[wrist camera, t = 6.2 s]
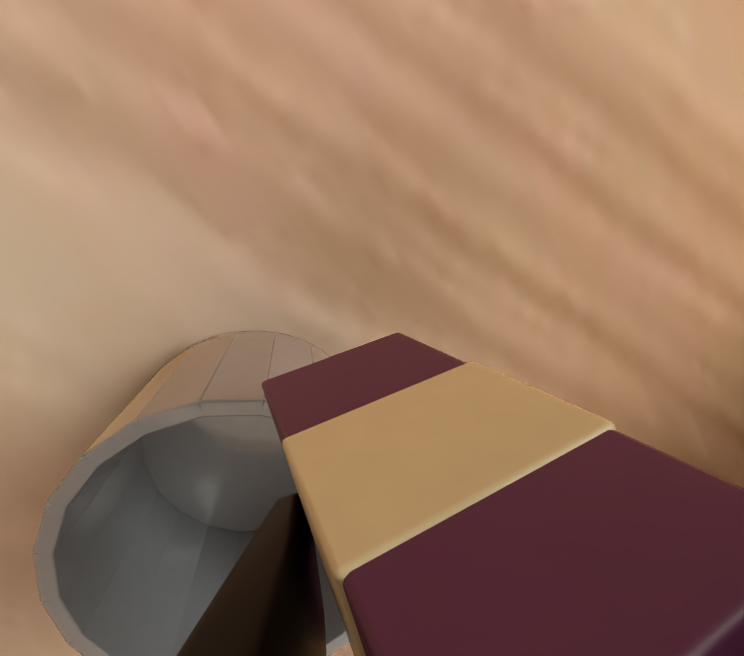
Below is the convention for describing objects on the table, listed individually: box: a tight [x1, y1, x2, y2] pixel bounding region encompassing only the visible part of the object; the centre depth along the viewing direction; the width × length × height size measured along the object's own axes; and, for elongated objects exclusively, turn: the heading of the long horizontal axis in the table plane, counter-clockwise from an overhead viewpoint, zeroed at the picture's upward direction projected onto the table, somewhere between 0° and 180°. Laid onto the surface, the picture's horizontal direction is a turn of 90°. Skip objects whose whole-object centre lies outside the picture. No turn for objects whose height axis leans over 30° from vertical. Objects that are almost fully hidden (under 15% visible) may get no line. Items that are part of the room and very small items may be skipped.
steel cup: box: [33, 331, 349, 656], centre depth 16 cm, size 11×11×8 cm
